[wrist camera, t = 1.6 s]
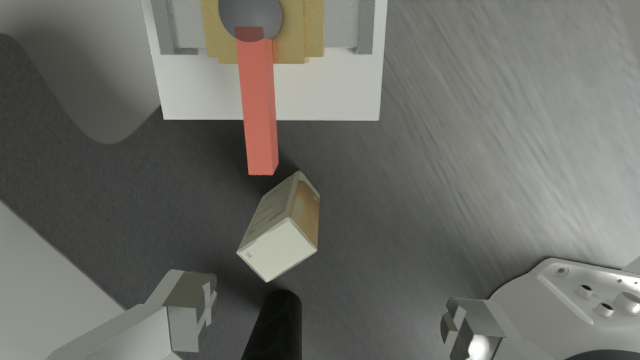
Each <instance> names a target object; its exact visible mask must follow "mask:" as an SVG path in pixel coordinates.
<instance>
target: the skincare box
mask: <svg viewBox="0 0 640 360" xmlns="http://www.w3.org/2000/svg"><path fill="white" fill-rule="evenodd" d="M319 201H320V194H319V193H318V192H317V190H316V189H315V188H314V187H313V185H312V184H311V183H310V181H309V180H308V179H307V178H306V176H305V175H304V174H303V173H302V172H301V171H300V170H299V171H297V172H295V173H294V174H292V175H291V176H289V177H288V178H287V179H285V180H284V181H282V182H281V183H280V184H278V185H277V186H275V187H274V188H273V189H271V190H270V191H269V192H268V193H266V194H265V195H264V196H263V197H262V199H261V201H260V203H259V205H258V207H257V209H256V212H255V214H254V216H253V218H252V220H251V222H250V225H249V227H248V229H247V231H246V233H245V235H244V237H243V240H242V242H241V244H240V246H239V248H238V250H237V254H238V255H239V256H240V257H241V258H242V259H243V260H244V261H245V262H246V263H247V264H248V265H249V266H250V267H251V268H252V269H253V270H254V271H255V272H256V273H257V274H258V275H259V276H260V277H261V278H262V279H263V280H264V281H265V282H269V281H271V280H273V279H274V278H276V277H278V276H279V275H281V274H283V273H284V272H286V271H288V270H289V269H291V268H292V267H294V266H295V265H297V264H299V263H300V262H302V261H303V260H305V259H306V258H307V257H309V256H310V255H312V254H313V253H315V252H316V251H317V241H318V221H319Z"/></svg>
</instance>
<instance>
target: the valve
mask: <svg viewBox="0 0 640 360" xmlns="http://www.w3.org/2000/svg"><path fill="white" fill-rule="evenodd" d="M279 1H280V3H281V6H282V9H283V24H282V27H281V30H280V32H279V33H278V35H277V36H276V37H275V38H274V39H272V53H273V64H305V63H308V62H310V57H324V48H354V55H370V54H372V50H373V32H374V15H375V0H279ZM151 5H152V10H153V16H154V21H155V27H156V32H157V37H158V43H159V48H160V54H161V55H199V53H198V48H206V49H207V57H218V62H219V64H238V58H237V48H236V38H235V37H233V36H232V35H231V34H230V33H229V32H228V31H227V30H226V29H225V27H224V26H223V24H222V22H221V19H220V16H219V11H218V0H151Z"/></svg>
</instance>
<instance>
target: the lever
mask: <svg viewBox="0 0 640 360" xmlns="http://www.w3.org/2000/svg"><path fill="white" fill-rule="evenodd" d="M218 11H219V16H220V19H221V22H222V24H223V26H224V27H225V29H226V30H227V31H228V32H229V33H230V34H231V35H232V36H233V37H235V38H236V48H237V58H238V68H239V78H240V89H241V99H242V109H243V120H244V130H245V140H246V151H247V161H248V171H249V175H273V174H274V172H275V170H276V168H277V166H278V163H279V160H278V142H277V124H276V106H275V89H274V71H273V53H272V39H274V38H275V37H276V36H277V35H278V33H279V32H280V30H281V27H282V24H283V9H282V6H281V3H280V1H279V0H218Z"/></svg>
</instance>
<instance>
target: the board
mask: <svg viewBox="0 0 640 360" xmlns="http://www.w3.org/2000/svg"><path fill="white" fill-rule="evenodd" d="M387 1H388V0H375V15H374V32H373V50H372V54H370V55H354V48H324V57H310V62H308V63H305V64H273V71H274V89H275V106H276V120H365V121H379V112H380V98H381V84H382V70H383V56H384V43H385V29H386V15H387ZM141 5H142V10H143V15H144V20H145V26H146V31H147V36H148V40H149V46H150V51H151V56H152V61H153V66H154V71H155V76H156V82H157V87H158V92H159V97H160V102H161V107H162V112H163V117H164V119H178V120H243V109H242V99H241V89H240V78H239V68H238V64H219V62H218V57H207V49H206V48H198V53H199V55H161V54H160V48H159V43H158V37H157V32H156V27H155V21H154V16H153V10H152V5H151V0H141Z"/></svg>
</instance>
